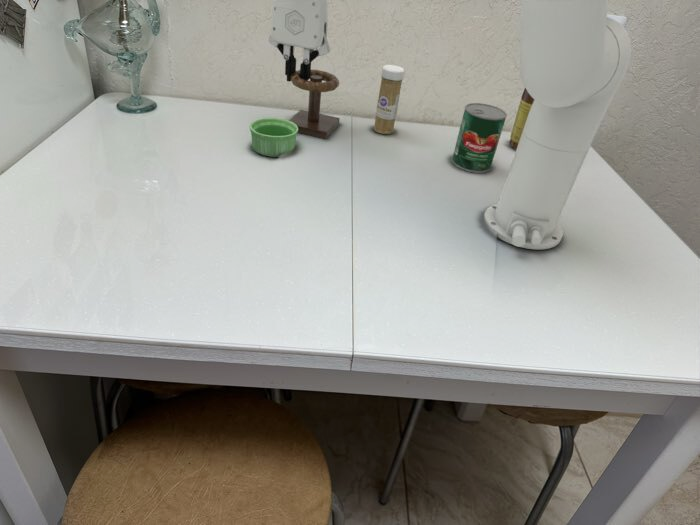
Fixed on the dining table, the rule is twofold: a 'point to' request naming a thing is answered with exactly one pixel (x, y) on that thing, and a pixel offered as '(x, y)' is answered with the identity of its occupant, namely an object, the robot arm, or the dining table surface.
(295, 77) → the ring
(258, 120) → the ramekin
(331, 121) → the stand
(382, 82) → the sprinkles bottle
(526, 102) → the sauce bottle
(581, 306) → the dining table surface
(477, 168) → the canned tomato
